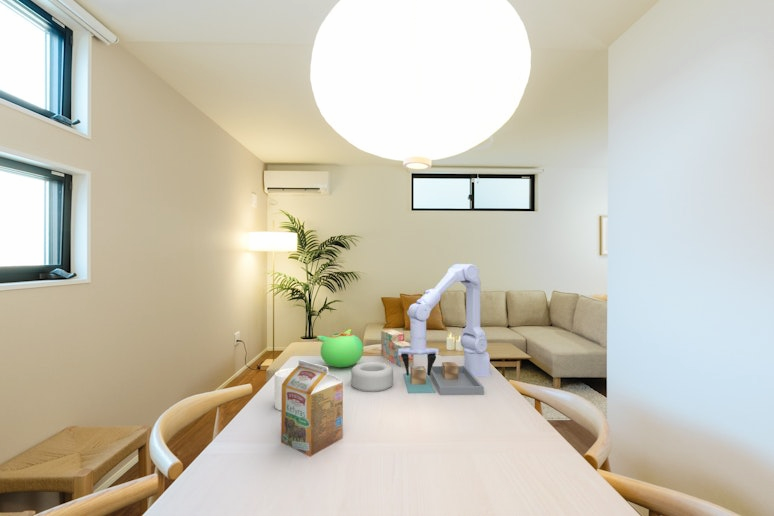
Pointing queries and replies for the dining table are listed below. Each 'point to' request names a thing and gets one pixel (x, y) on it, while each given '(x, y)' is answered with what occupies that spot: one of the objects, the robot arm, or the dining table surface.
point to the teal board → (418, 386)
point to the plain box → (449, 370)
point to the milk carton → (311, 409)
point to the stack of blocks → (394, 347)
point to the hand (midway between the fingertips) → (418, 374)
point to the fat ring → (372, 376)
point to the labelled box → (418, 375)
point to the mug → (280, 386)
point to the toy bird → (341, 349)
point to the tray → (456, 382)
